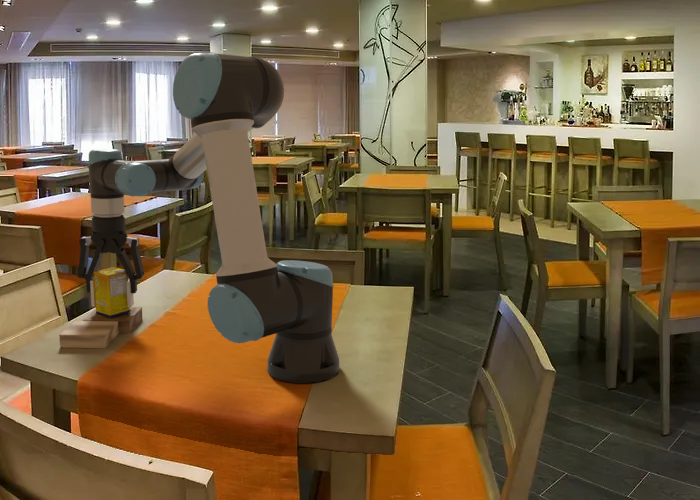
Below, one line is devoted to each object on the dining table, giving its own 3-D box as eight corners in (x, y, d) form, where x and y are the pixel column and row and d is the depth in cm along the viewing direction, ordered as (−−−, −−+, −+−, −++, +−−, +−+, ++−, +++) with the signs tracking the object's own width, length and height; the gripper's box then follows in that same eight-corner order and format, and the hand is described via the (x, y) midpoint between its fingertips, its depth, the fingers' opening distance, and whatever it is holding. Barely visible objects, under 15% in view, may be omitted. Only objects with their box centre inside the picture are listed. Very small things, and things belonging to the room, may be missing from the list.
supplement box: (115, 308, 170) (113, 266, 168) (130, 313, 167) (128, 270, 164) (94, 314, 165) (92, 270, 163) (110, 318, 162) (107, 274, 160)
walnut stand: (129, 332, 161) (129, 320, 161) (83, 332, 161) (82, 320, 160) (142, 318, 172) (141, 307, 172) (99, 317, 172) (98, 306, 171)
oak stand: (105, 348, 151) (104, 335, 151) (60, 347, 151) (59, 334, 150) (118, 333, 161) (118, 321, 160) (76, 332, 161) (75, 320, 160)
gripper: (156, 212, 165) (159, 301, 170) (70, 210, 164) (75, 300, 169) (148, 218, 157) (151, 310, 162) (57, 216, 157) (64, 309, 162)
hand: (112, 305), depth 166 cm, fingers closed on supplement box, 8 cm apart
